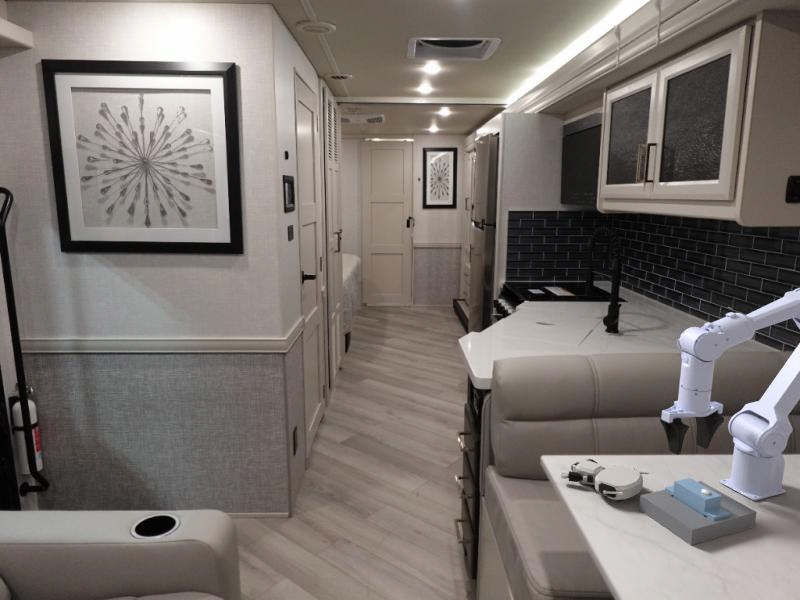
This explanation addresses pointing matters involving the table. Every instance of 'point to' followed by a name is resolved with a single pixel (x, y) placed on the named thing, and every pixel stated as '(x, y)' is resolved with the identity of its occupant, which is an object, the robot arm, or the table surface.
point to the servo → (698, 498)
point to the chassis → (696, 516)
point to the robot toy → (607, 479)
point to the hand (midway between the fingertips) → (688, 449)
